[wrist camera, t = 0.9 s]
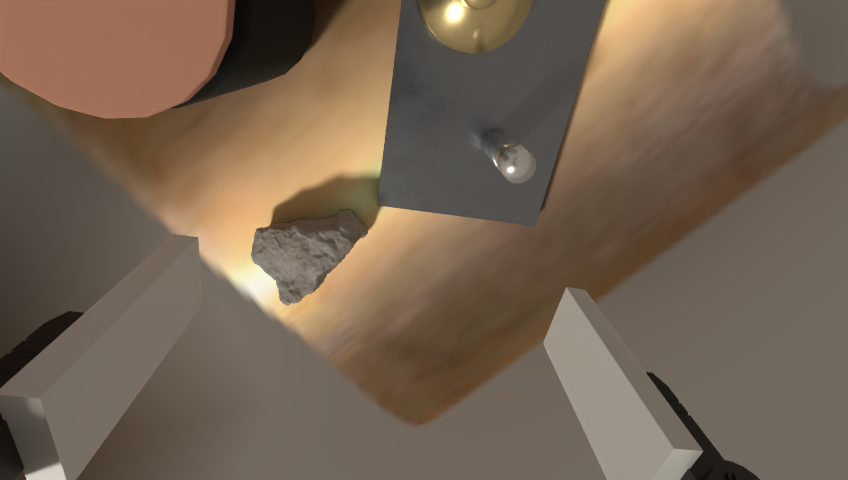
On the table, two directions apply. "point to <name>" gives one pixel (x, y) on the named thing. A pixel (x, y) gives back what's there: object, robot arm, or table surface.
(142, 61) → the coffee jar
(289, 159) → the table surface
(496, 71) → the carrier
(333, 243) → the stone
